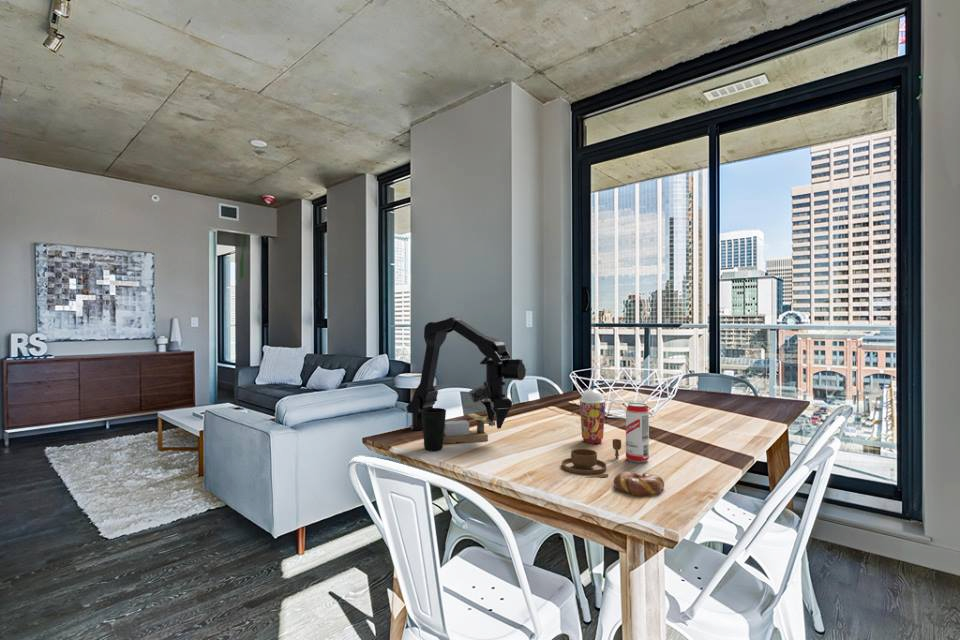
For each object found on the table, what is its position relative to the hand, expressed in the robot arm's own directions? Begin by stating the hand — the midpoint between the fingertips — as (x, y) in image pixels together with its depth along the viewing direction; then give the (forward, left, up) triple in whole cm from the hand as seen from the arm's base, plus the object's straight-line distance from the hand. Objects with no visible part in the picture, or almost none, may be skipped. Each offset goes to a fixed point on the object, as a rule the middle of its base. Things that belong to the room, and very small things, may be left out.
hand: (494, 425), depth 158 cm
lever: (-3, -4, +1) cm, 5 cm away
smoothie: (+10, +31, -5) cm, 33 cm away
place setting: (+34, +19, -6) cm, 40 cm away
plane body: (-4, -11, -5) cm, 12 cm away
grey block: (-4, -12, -3) cm, 13 cm away
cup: (+5, -21, -5) cm, 22 cm away
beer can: (+32, +33, -5) cm, 46 cm away
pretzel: (+52, +20, -6) cm, 56 cm away
